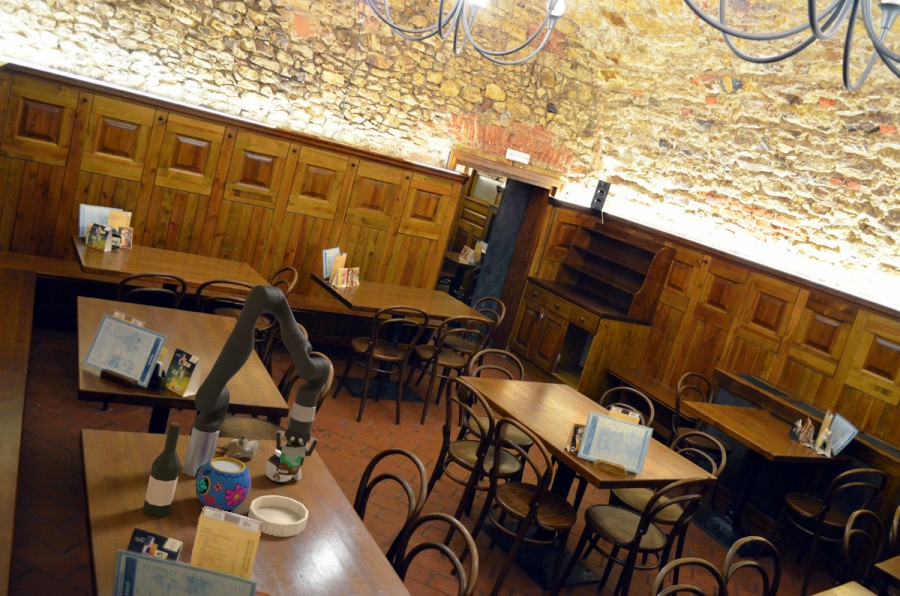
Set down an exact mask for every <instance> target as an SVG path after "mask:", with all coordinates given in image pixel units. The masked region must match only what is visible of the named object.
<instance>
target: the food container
mask: <svg viewBox="0 0 900 596" xmlns="http://www.w3.org/2000/svg"><path fill="white" fill-rule="evenodd" d="M282 446H283V448H282V450H281V452H282V453H281V459H280V465H279V470H278V474H281V475H295V474H297V473H298V472H299V469H301V466H300V463H301V461H302V460H301V459H302V455H303V453H305V452H306V451H308V442H307V443H305V446H304V447H297V446H292V445H290V446H286V447H285V446H284V445H282ZM299 466H300V467H299Z"/></svg>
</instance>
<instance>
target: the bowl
mask: <svg viewBox="0 0 900 596" xmlns="http://www.w3.org/2000/svg"><path fill="white" fill-rule="evenodd" d="M309 513H310V512H309V510H308V509H307V508H306V506H305V505H304V504H303V503H302V502H300V501H298V500H295V498H291V497H287V496H284V495H283V496H282V495H277V494H274V495H273V494H272V495H261V496H258V497H256V498H255V499H253V500H251V503H250V507H249V511H248V515H247V518H248V517H251V518H254V519H257V520H261V521H262V522H263V526H262V532H263V533H262V532H261V533H262V534H264V533H265V534H264V535H267V534H269V535H268V536H271V535H273V537H277V538H278V537H280V538H287V537H294V536H297V535H299V534H301V533H302V532H304V530H305V529H306V526H307V524H308V523H307V521H308V517H309Z"/></svg>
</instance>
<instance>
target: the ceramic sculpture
mask: <svg viewBox="0 0 900 596" xmlns="http://www.w3.org/2000/svg"><path fill="white" fill-rule="evenodd" d="M260 443H261V442H260V439H259V440H258V439H257V440H250V441H249V440H248V439H247V437H244V436H241V437H240V438H234V439H231V440H230V441H229V442H228V443H227V444H224V445H216V449H219V450H221V451H223V452H225V454H224V455H222V456H221V457H228V458H233V459H240V458H248V459H250V460H251V459H253V458H254V457H255V454H256V453H257V451H258V449H259V446H260Z"/></svg>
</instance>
